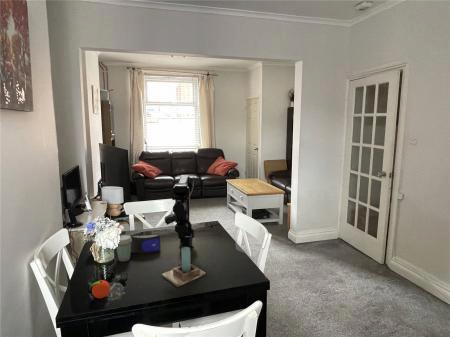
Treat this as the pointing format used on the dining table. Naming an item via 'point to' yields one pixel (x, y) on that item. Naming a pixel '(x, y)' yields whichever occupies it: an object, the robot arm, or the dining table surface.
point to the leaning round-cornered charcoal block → (145, 244)
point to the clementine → (100, 289)
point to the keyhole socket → (183, 275)
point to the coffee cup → (124, 248)
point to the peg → (185, 259)
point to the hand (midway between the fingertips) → (182, 238)
